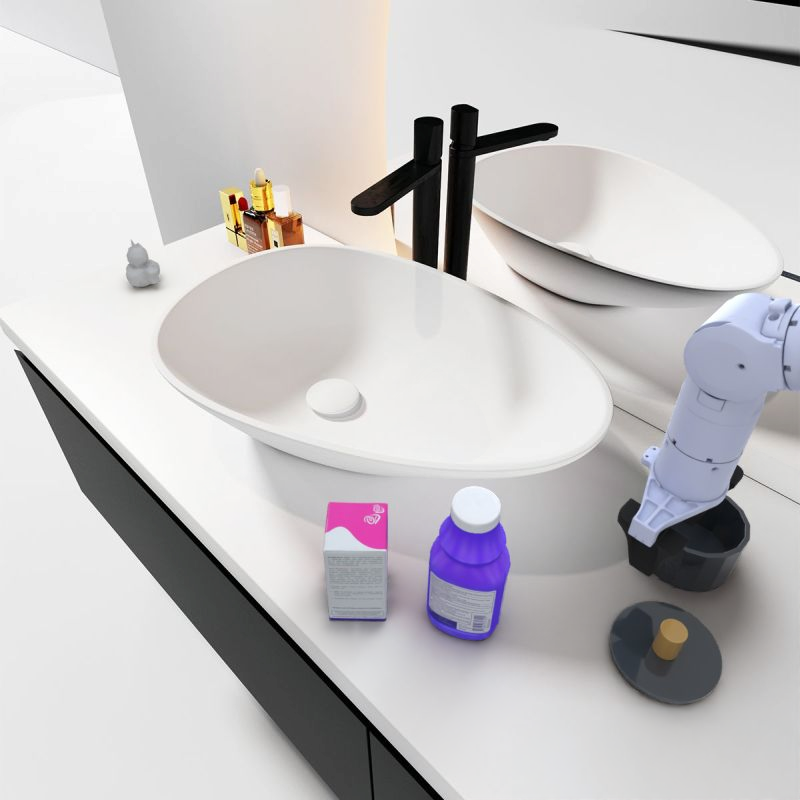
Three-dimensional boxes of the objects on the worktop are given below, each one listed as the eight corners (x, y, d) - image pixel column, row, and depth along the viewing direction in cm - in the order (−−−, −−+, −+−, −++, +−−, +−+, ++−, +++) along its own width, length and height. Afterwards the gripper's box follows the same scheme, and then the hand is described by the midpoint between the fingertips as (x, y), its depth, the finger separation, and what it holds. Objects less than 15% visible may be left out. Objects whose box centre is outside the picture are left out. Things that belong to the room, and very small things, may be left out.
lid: (737, 653, 65) (752, 629, 63) (686, 731, 60) (700, 709, 57) (642, 588, 71) (652, 564, 68) (587, 655, 65) (595, 631, 63)
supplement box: (388, 622, 68) (386, 552, 60) (328, 621, 68) (318, 552, 60) (390, 571, 72) (388, 500, 65) (333, 571, 72) (324, 500, 65)
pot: (747, 552, 74) (766, 517, 70) (705, 609, 69) (723, 574, 65) (666, 504, 79) (679, 468, 75) (622, 553, 74) (634, 519, 70)
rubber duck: (147, 271, 116) (134, 227, 111) (174, 283, 114) (162, 239, 108) (120, 285, 113) (106, 241, 108) (147, 298, 110) (134, 254, 105)
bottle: (506, 602, 70) (526, 488, 58) (492, 653, 66) (511, 542, 54) (436, 582, 71) (442, 468, 60) (419, 630, 67) (421, 518, 56)
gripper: (701, 371, 60) (663, 476, 69) (609, 459, 53) (580, 564, 62) (783, 410, 56) (731, 516, 66) (697, 511, 49) (651, 614, 58)
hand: (662, 542), depth 63 cm, fingers open, 7 cm apart
